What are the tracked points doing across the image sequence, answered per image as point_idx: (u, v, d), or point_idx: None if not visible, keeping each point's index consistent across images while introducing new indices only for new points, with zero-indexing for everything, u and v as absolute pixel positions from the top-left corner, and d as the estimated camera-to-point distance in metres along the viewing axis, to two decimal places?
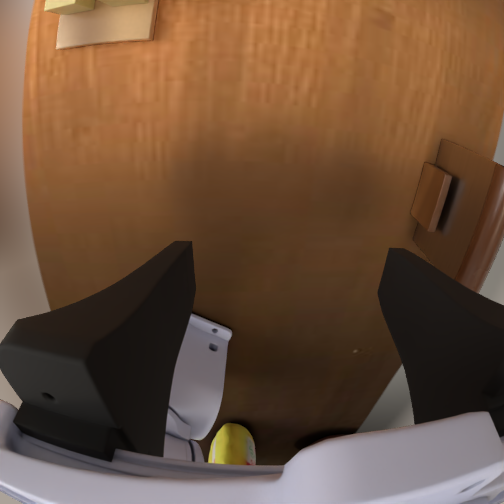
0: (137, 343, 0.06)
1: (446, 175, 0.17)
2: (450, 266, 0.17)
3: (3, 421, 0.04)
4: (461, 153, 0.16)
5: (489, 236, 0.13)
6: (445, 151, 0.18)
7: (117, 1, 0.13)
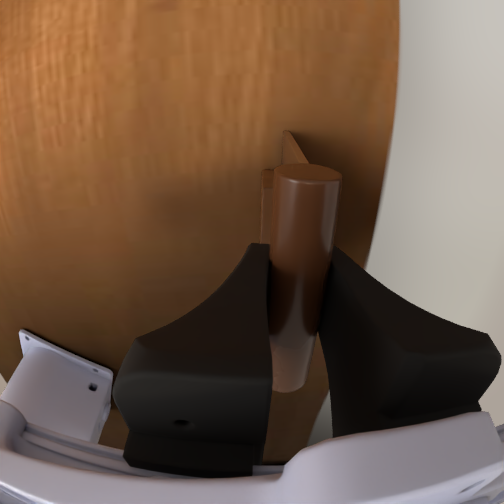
0: None
1: (264, 189, 0.13)
2: None
3: (3, 421, 0.04)
4: (287, 150, 0.12)
5: (279, 299, 0.09)
6: (283, 149, 0.14)
7: None
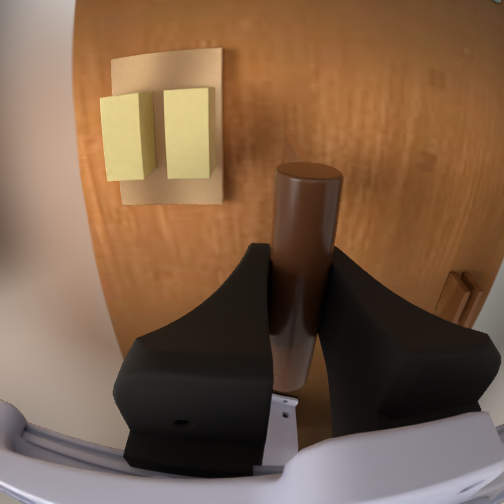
0: None
1: (466, 293, 0.21)
2: None
3: (3, 421, 0.04)
4: (288, 149, 0.12)
5: (279, 298, 0.09)
6: (284, 149, 0.14)
7: None
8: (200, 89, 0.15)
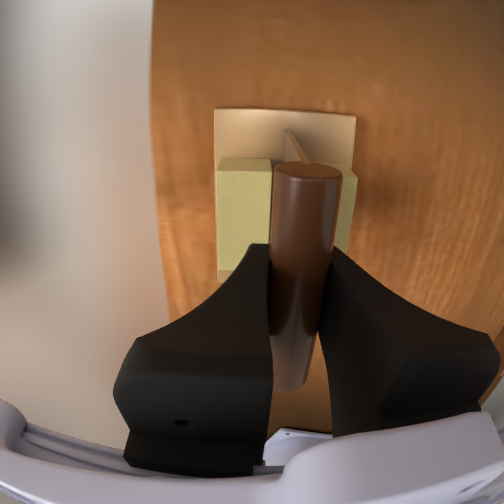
0: None
1: None
2: None
3: (3, 421, 0.04)
4: (288, 148, 0.12)
5: (279, 297, 0.09)
6: (284, 148, 0.14)
7: None
8: (349, 178, 0.13)
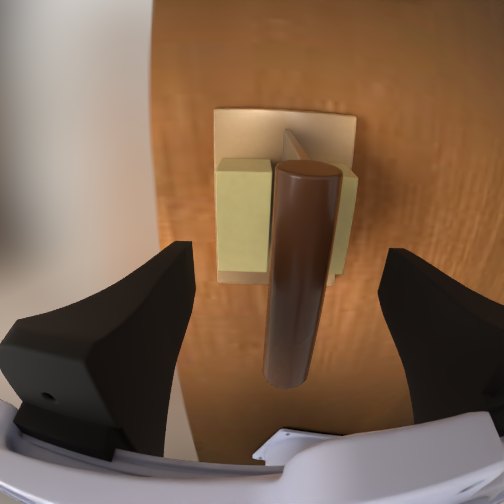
0: (137, 343, 0.06)
1: None
2: None
3: (3, 421, 0.04)
4: (287, 147, 0.12)
5: (280, 294, 0.09)
6: (283, 147, 0.14)
7: None
8: (349, 179, 0.13)
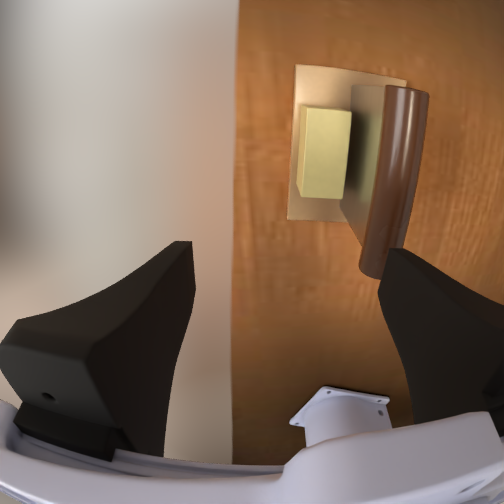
0: (137, 343, 0.06)
1: None
2: None
3: (3, 421, 0.04)
4: (365, 92, 0.14)
5: (389, 180, 0.11)
6: (354, 97, 0.16)
7: None
8: None
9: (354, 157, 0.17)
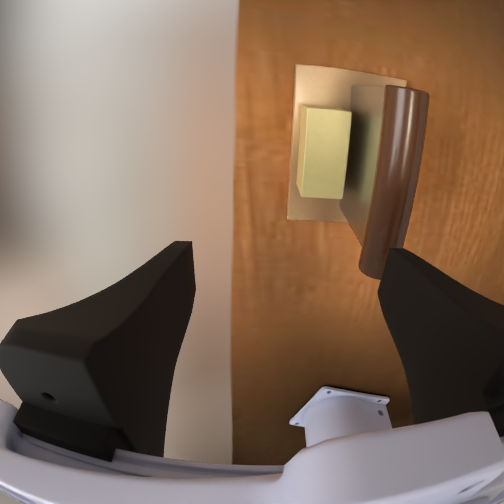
0: (137, 343, 0.06)
1: None
2: None
3: (3, 421, 0.04)
4: (365, 92, 0.14)
5: (389, 180, 0.11)
6: (354, 97, 0.16)
7: None
8: None
9: (354, 157, 0.17)
